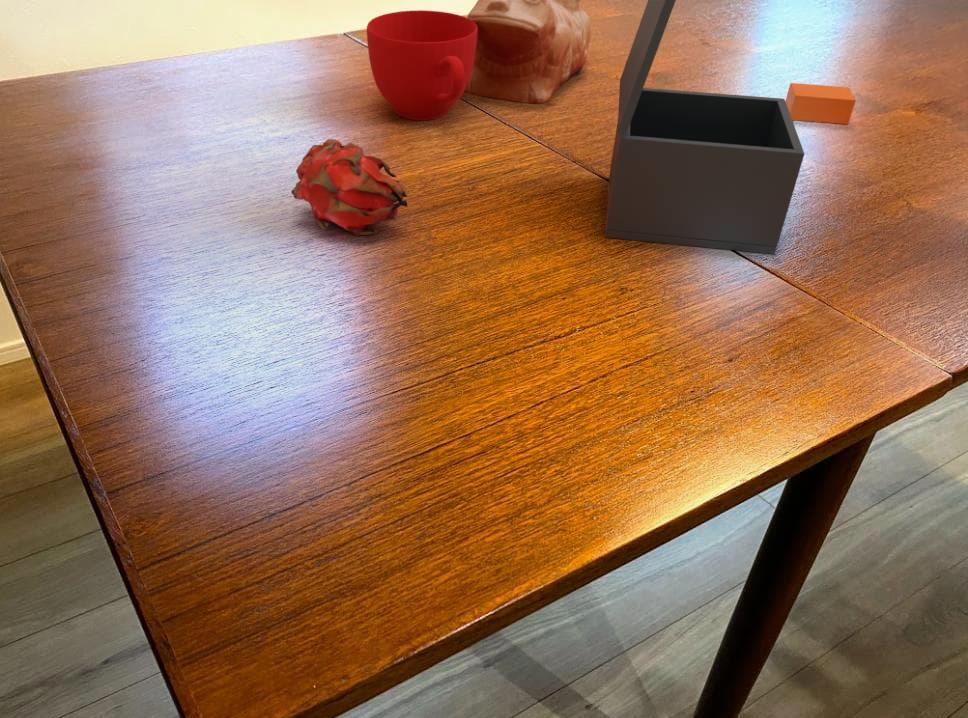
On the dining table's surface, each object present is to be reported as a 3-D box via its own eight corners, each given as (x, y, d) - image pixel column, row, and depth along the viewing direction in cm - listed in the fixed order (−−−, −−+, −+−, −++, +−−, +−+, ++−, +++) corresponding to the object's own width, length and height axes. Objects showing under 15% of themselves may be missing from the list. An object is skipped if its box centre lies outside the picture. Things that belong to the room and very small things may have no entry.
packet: (841, 110, 111) (849, 87, 109) (848, 124, 107) (856, 100, 105) (783, 106, 112) (790, 82, 110) (788, 119, 108) (795, 95, 106)
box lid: (692, -100, 77) (631, -117, 77) (701, -69, 67) (630, -88, 67) (627, 82, 88) (573, 67, 88) (625, 134, 77) (564, 116, 77)
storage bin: (759, 191, 92) (784, 98, 86) (774, 254, 82) (804, 153, 76) (608, 178, 94) (622, 85, 88) (605, 237, 84) (620, 137, 78)
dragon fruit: (300, 217, 89) (400, 263, 86) (258, 199, 81) (366, 249, 78) (333, 138, 88) (436, 181, 85) (293, 112, 80) (405, 159, 77)
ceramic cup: (405, 150, 99) (405, 59, 93) (353, 99, 111) (350, 16, 105) (507, 133, 103) (513, 45, 97) (446, 86, 115) (449, 5, 109)
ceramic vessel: (435, 101, 111) (438, -28, 102) (509, 44, 130) (518, -69, 120) (539, 120, 107) (552, -13, 97) (600, 58, 125) (616, -58, 116)
